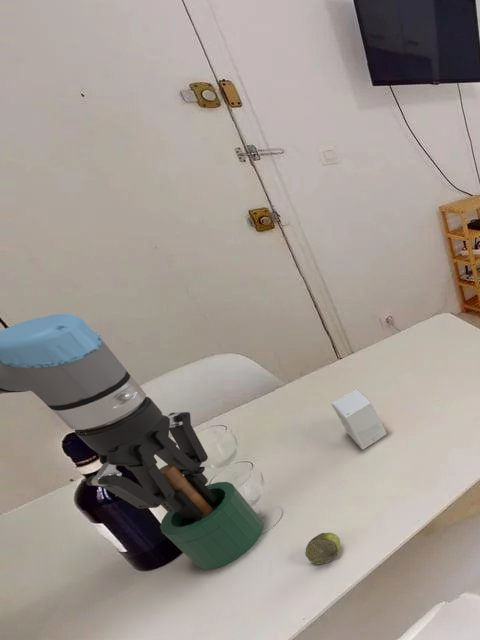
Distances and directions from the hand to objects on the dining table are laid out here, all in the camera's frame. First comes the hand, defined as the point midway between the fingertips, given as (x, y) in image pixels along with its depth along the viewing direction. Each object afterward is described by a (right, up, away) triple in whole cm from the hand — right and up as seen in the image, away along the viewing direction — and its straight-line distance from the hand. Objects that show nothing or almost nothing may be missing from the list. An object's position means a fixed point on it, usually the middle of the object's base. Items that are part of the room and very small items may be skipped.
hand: (200, 508), depth 71 cm
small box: (+12, +3, +26) cm, 29 cm away
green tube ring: (0, -9, +5) cm, 10 cm away
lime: (+20, -10, +3) cm, 23 cm away
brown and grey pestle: (0, -7, +4) cm, 7 cm away
